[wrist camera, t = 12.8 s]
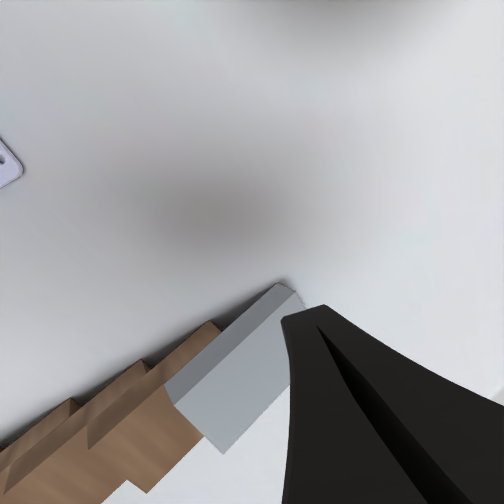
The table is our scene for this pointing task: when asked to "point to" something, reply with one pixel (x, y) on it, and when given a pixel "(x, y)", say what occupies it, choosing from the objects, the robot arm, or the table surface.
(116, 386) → the domino
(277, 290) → the domino
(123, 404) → the domino
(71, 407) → the domino
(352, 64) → the table surface
